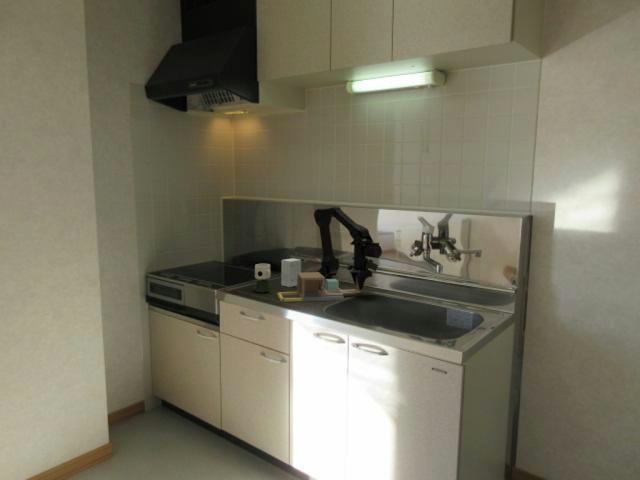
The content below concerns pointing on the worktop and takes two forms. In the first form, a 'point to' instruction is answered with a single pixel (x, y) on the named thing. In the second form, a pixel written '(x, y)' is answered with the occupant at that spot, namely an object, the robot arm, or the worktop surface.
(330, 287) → the block
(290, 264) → the small box
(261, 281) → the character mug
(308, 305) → the worktop surface
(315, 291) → the tunnel track
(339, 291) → the sled
